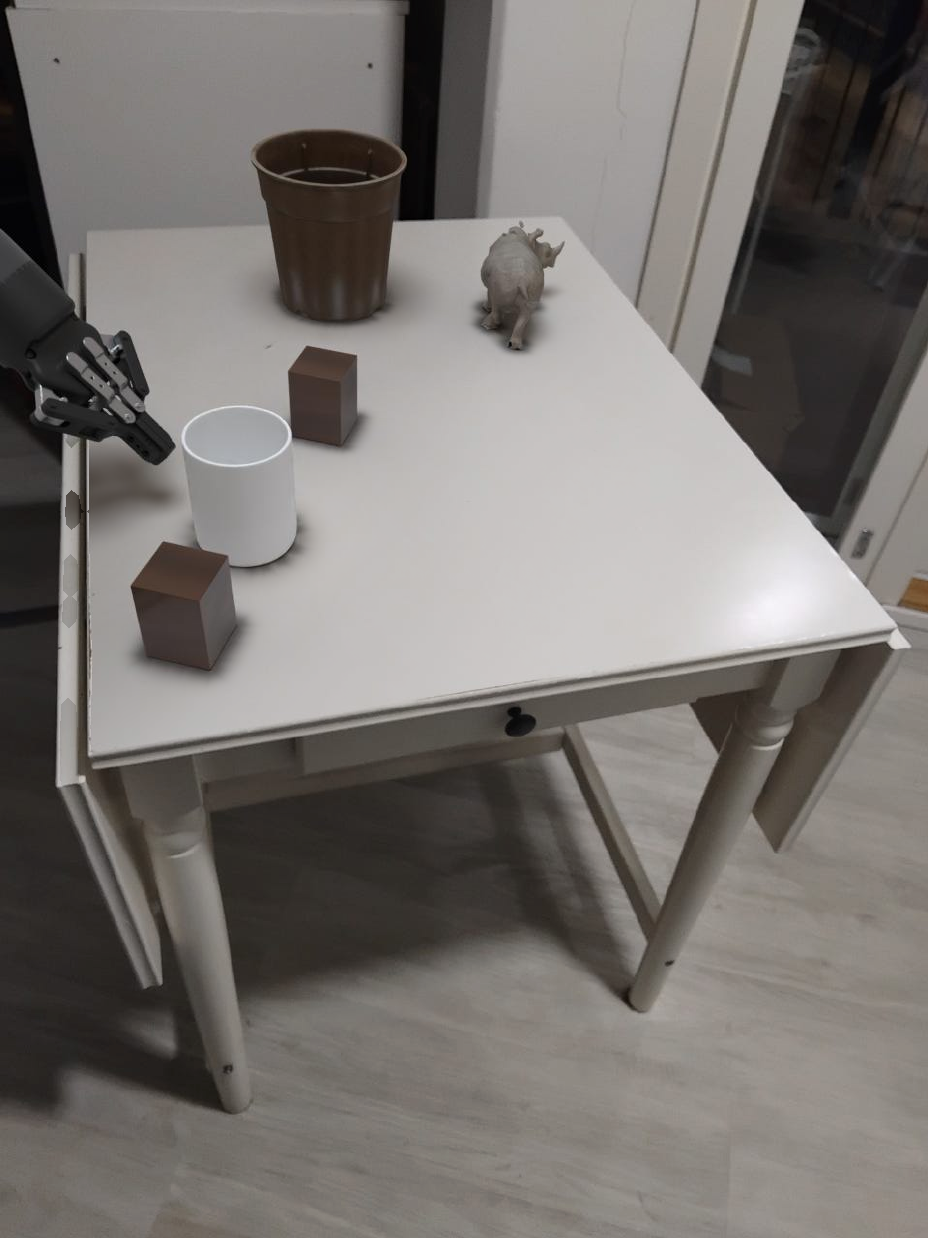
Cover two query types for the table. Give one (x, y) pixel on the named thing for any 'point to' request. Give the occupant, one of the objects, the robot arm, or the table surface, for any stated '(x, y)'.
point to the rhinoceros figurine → (516, 277)
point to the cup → (241, 483)
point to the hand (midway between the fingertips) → (166, 456)
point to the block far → (323, 395)
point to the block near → (185, 605)
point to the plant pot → (330, 217)
